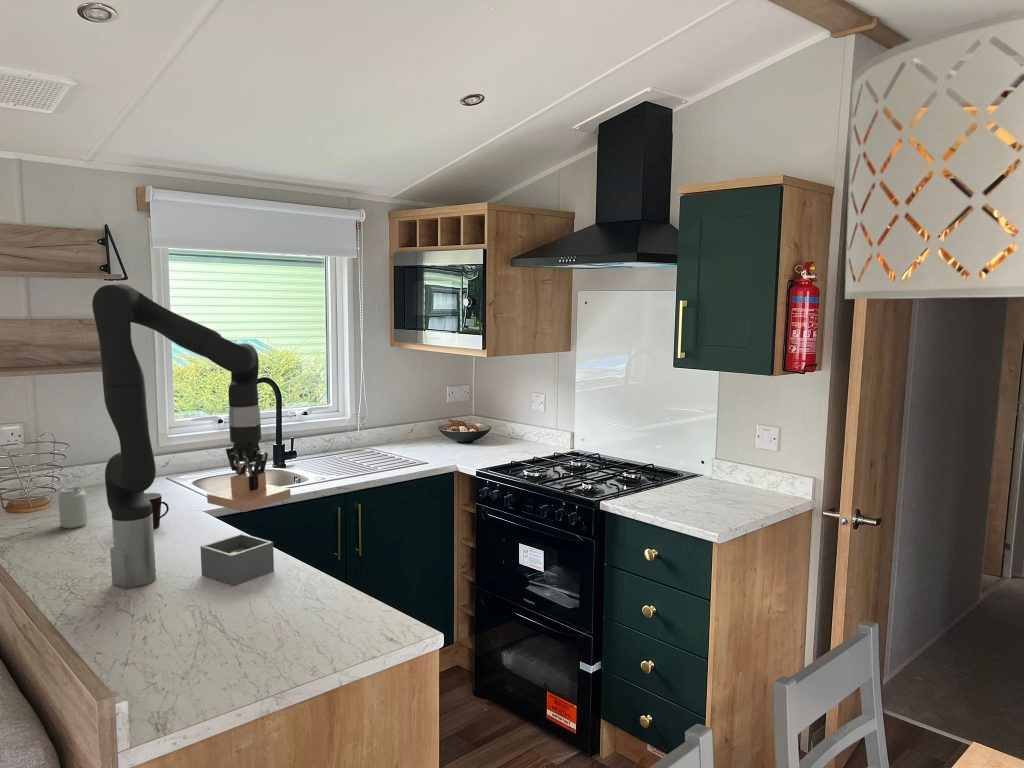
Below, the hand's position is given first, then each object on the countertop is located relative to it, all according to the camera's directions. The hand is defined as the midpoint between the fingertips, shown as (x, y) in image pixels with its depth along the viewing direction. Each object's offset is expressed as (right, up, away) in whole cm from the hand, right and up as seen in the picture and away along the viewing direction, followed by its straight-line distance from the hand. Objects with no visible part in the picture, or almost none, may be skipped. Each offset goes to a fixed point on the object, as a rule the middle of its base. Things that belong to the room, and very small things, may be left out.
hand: (248, 488), depth 195 cm
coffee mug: (-46, -19, +43) cm, 65 cm away
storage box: (-5, -23, +5) cm, 24 cm away
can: (-71, -18, +45) cm, 86 cm away
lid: (0, -3, +1) cm, 3 cm away
